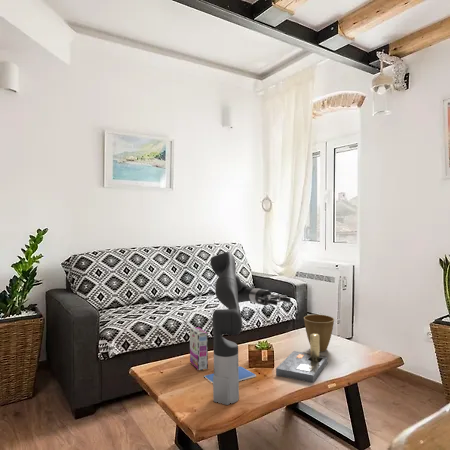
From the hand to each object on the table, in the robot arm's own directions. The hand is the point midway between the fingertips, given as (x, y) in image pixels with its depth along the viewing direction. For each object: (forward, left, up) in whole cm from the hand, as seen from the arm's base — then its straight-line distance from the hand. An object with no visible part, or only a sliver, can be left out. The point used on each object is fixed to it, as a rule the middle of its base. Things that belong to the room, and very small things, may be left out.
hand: (283, 301), depth 178 cm
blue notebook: (-27, +15, -29) cm, 42 cm away
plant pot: (+23, -10, -28) cm, 38 cm away
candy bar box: (-23, +33, -28) cm, 49 cm away
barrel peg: (+1, -14, -28) cm, 31 cm away
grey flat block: (-5, -10, -28) cm, 30 cm away
